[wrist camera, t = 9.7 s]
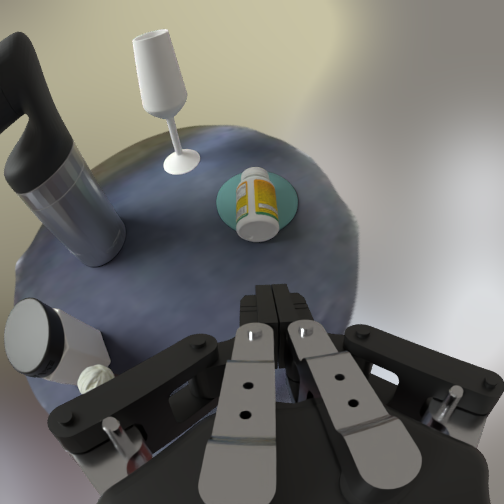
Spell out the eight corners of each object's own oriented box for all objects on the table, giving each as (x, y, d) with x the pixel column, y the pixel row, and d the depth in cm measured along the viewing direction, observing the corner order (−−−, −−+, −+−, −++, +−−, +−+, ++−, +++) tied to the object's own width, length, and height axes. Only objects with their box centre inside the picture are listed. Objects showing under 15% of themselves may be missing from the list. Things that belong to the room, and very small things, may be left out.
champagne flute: (163, 178, 43) (120, 48, 22) (163, 153, 46) (129, 36, 25) (201, 169, 44) (175, 33, 23) (198, 146, 47) (176, 24, 26)
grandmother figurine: (117, 400, 27) (52, 395, 16) (119, 371, 28) (55, 353, 17) (175, 410, 26) (127, 417, 15) (176, 378, 28) (129, 368, 17)
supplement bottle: (230, 225, 32) (230, 168, 37) (244, 246, 37) (242, 192, 41) (274, 215, 31) (268, 159, 36) (283, 238, 36) (276, 184, 40)
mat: (202, 219, 39) (201, 217, 38) (237, 165, 44) (236, 163, 44) (281, 246, 36) (282, 245, 36) (306, 185, 42) (307, 183, 41)
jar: (59, 379, 27) (-3, 363, 17) (65, 325, 31) (9, 294, 21) (109, 392, 27) (48, 384, 16) (114, 331, 31) (59, 300, 20)
